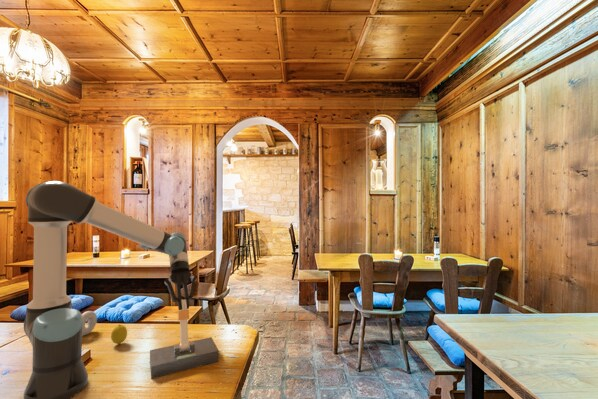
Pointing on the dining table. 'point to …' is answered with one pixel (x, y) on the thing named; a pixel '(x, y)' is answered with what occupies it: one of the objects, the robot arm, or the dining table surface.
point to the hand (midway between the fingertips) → (185, 316)
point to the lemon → (119, 334)
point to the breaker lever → (183, 329)
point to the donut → (91, 322)
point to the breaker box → (182, 357)
